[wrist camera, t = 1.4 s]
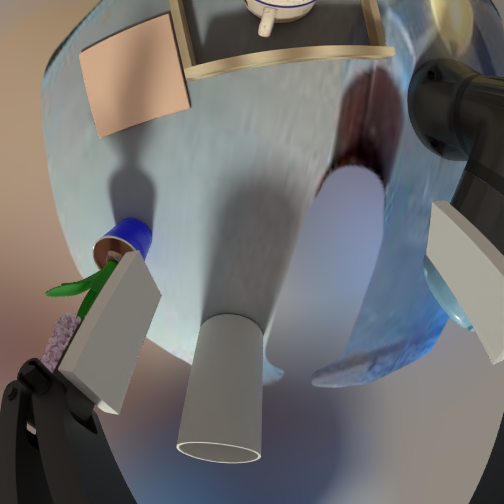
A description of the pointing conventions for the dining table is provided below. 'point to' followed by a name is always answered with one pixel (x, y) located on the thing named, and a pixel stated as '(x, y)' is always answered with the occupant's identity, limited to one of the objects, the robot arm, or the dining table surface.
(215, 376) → the cylinder vase
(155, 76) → the terracotta tile
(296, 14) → the teacup with lid
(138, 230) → the hyacinth
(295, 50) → the frame
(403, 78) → the dining table surface
